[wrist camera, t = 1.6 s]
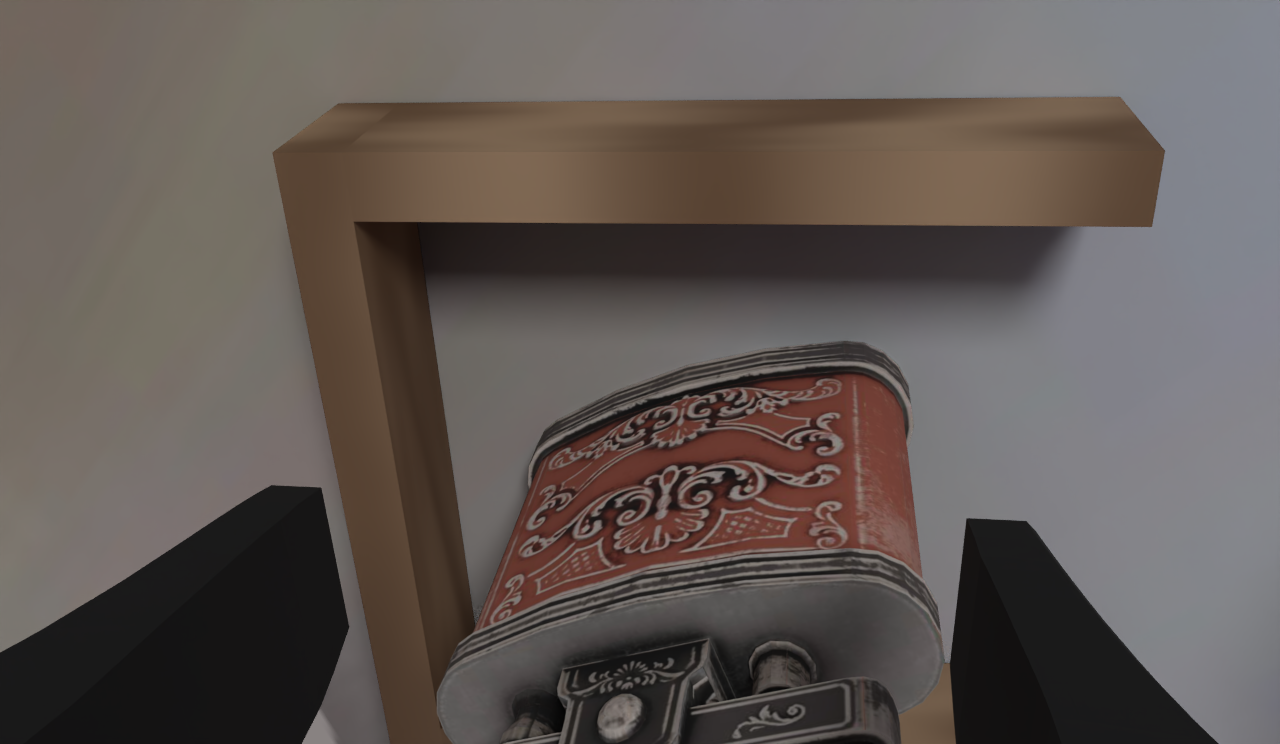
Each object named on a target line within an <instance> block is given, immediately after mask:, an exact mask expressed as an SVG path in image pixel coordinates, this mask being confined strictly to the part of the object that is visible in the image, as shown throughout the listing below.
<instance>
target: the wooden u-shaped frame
mask: <svg viewBox="0 0 1280 744" xmlns="http://www.w3.org/2000/svg"><path fill="white" fill-rule="evenodd" d="M1164 153H1165V150H1164V149H1163V148H1162V147H1161V145H1160V144H1159V143H1158V142H1157V141H1156V139H1155V138H1154V137H1153V136H1152V135H1151V133H1150V132H1149V131H1148V130H1147V129H1146V127H1145V126H1144V125H1143V124H1142V123H1141V121H1140V120H1139V119H1138V118H1137V117H1136V115H1135V114H1134V113H1133V112H1132V111H1131V110H1130V108H1129V107H1128V106H1127V105H1126V104H1125V102H1124V101H1123V100H1122V99H1121V98H1120V97H1052V98H934V99H816V100H698V101H580V102H462V103H344V104H337V105H336V106H334V107H333V108H332V109H330V110H329V111H328V112H326V113H325V114H324V115H322V116H321V117H320V118H318V119H317V120H316V121H314V122H313V123H312V124H310V125H309V126H308V127H306V128H305V129H304V130H302V131H301V132H300V133H298V134H297V135H296V136H294V137H293V138H292V139H290V140H289V141H287V142H286V143H285V144H283V145H282V146H281V147H279V148H278V149H277V150H275V151H274V152H273V158H274V163H275V168H276V173H277V178H278V183H279V188H280V193H281V198H282V203H283V208H284V213H285V218H286V223H287V228H288V233H289V238H290V243H291V248H292V253H293V258H294V263H295V268H296V273H297V278H298V283H299V288H300V293H301V298H302V303H303V308H304V313H305V318H306V323H307V328H308V333H309V338H310V343H311V348H312V353H313V358H314V363H315V368H316V373H317V378H318V383H319V388H320V393H321V398H322V403H323V408H324V413H325V418H326V423H327V428H328V433H329V438H330V443H331V448H332V453H333V458H334V463H335V468H336V473H337V478H338V483H339V488H340V493H341V498H342V503H343V508H344V513H345V518H346V523H347V528H348V533H349V538H350V543H351V548H352V553H353V558H354V563H355V568H356V573H357V578H358V583H359V588H360V593H361V598H362V603H363V608H364V613H365V618H366V623H367V628H368V633H369V638H370V643H371V648H372V653H373V658H374V663H375V668H376V673H377V678H378V683H379V688H380V693H381V698H382V703H383V708H384V713H385V718H386V723H387V728H388V733H389V738H390V743H391V744H453V743H452V742H451V740H450V739H449V738H448V737H447V736H446V734H445V732H444V730H443V727H442V725H441V722H440V720H439V717H438V715H437V691H438V689H439V686H440V684H441V681H442V679H443V676H444V674H445V671H446V669H447V667H448V664H449V662H450V659H451V657H452V655H453V653H454V651H455V649H456V647H457V645H458V643H460V642H461V641H463V640H464V639H465V638H467V637H468V636H469V635H471V634H472V633H473V632H474V629H475V622H474V616H473V609H472V602H471V595H470V588H469V581H468V574H467V567H466V560H465V553H464V546H463V539H462V532H461V525H460V518H459V511H458V504H457V497H456V491H455V484H454V477H453V470H452V463H451V456H450V449H449V442H448V435H447V428H446V421H445V414H444V407H443V400H442V393H441V386H440V379H439V372H438V365H437V359H436V352H435V345H434V338H433V331H432V324H431V317H430V310H429V303H428V296H427V289H426V282H425V275H424V268H423V261H422V254H421V247H420V240H419V233H418V227H417V222H500V223H650V224H801V225H951V226H1102V227H1152V223H1153V217H1154V212H1155V206H1156V200H1157V194H1158V188H1159V182H1160V177H1161V171H1162V165H1163V159H1164ZM899 720H900V732H901V744H956V739H955V727H954V716H953V703H952V689H951V676H950V663H944V665H943V669H942V672H941V676H940V679H939V683H938V685H937V686H936V687H935V688H934V690H933V691H932V692H931V693H930V694H929V696H928V697H927V698H926V699H925V700H924V702H923V703H921V704H919V705H917V706H915V707H914V708H912V709H910V710H908V711H906V712H905V713H903V714H900V715H899Z"/></svg>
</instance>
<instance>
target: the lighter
mask: <svg viewBox="0 0 1280 744" xmlns="http://www.w3.org/2000/svg"><path fill="white" fill-rule="evenodd" d="M913 427H914V425H913V417H912V410H911V402H910V395H909V387H908V383H907V381H906V379H905V377H904V375H903V373H902V372H901V370H900V368H899V366H898V365H897V364H896V363H895V362H894V361H893V360H892V359H891V358H890V357H889V356H888V355H886V354H885V353H884V352H883V351H881V350H879V349H877V348H875V347H872V346H870V345H868V344H866V343H863V342H851V341H837V342H828V343H818V344H808V345H798V346H788V347H778V348H768V349H762V350H757V351H753V352H748V353H743V354H738V355H734V356H729V357H724V358H719V359H715V360H710V361H705V362H701V363H696V364H691V365H687V366H684V367H681V368H679V369H676V370H673V371H670V372H667V373H665V374H662V375H659V376H656V377H653V378H650V379H648V380H645V381H642V382H639V383H636V384H633V385H631V386H628V387H625V388H622V389H619V390H617V391H615V392H613V393H611V394H609V395H607V396H605V397H603V398H601V399H599V400H597V401H595V402H592V403H590V404H588V405H586V406H584V407H582V408H580V409H578V410H576V411H574V412H572V413H570V414H568V415H566V416H564V417H562V418H560V419H558V420H557V421H555V422H554V423H553V424H552V425H550V426H549V427H548V428H547V429H545V431H544V433H543V435H542V437H541V439H540V441H539V443H538V445H537V448H536V450H535V453H534V455H533V457H532V460H531V462H530V465H529V473H528V486H529V492H528V494H527V497H526V499H525V502H524V504H523V507H522V510H521V512H520V515H519V517H518V520H517V522H516V525H515V527H514V530H513V532H512V535H511V538H510V540H509V543H508V545H507V548H506V550H505V553H504V555H503V558H502V560H501V563H500V565H499V568H498V571H497V573H496V576H495V578H494V581H493V583H492V586H491V588H490V591H489V593H488V596H487V599H486V601H485V604H484V606H483V609H482V611H481V614H480V616H479V619H478V621H477V624H476V627H475V629H474V632H473V633H472V634H471V635H469V636H468V637H467V638H465V639H464V640H463V641H461V642H460V643H458V645H457V647H456V649H455V651H454V653H453V655H452V657H451V659H450V662H449V664H448V667H447V669H446V671H445V674H444V676H443V679H442V681H441V684H440V686H439V689H438V691H437V715H438V717H439V720H440V722H441V725H442V727H443V730H444V732H445V734H446V736H447V737H448V738H449V739H450V740H451V742H452V743H453V744H901V732H900V720H899V715H900V714H903V713H905V712H906V711H908V710H910V709H912V708H914V707H915V706H917V705H919V704H921V703H923V702H924V700H925V699H926V698H927V697H928V696H929V694H930V693H931V692H932V691H933V690H934V688H935V687H936V686H937V685H938V683H939V679H940V676H941V672H942V669H943V665H944V662H945V659H944V652H943V644H942V637H941V629H940V622H939V615H938V607H937V602H936V600H935V599H934V597H933V595H932V593H931V592H930V590H929V588H928V586H927V584H926V583H925V581H924V580H923V578H922V570H921V561H920V553H919V544H918V536H917V527H916V519H915V511H914V502H913V494H912V485H911V477H910V468H909V460H908V452H907V448H908V446H909V444H910V439H911V435H912V431H913Z"/></svg>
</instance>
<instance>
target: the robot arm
mask: <svg viewBox="0 0 1280 744" xmlns="http://www.w3.org/2000/svg"><path fill="white" fill-rule="evenodd" d="M348 629H349V624H348V619H347V614H346V609H345V604H344V599H343V594H342V589H341V584H340V579H339V574H338V569H337V564H336V559H335V554H334V549H333V544H332V539H331V534H330V529H329V524H328V519H327V514H326V509H325V504H324V499H323V494H322V489H321V488H317V487H296V486H275V485H271V486H269V487H268V488H266V489H264V490H262V491H260V492H259V493H257V494H255V495H253V496H252V497H250V498H248V499H247V500H245V501H244V502H242V503H240V504H239V505H237V506H236V507H234V508H233V509H231V510H230V511H228V512H226V513H225V514H223V515H222V516H220V517H219V518H217V519H216V520H214V521H213V522H211V523H210V524H208V525H207V526H205V527H204V528H202V529H201V530H199V531H198V532H196V533H195V534H193V535H192V536H190V537H189V538H187V539H186V540H184V541H183V542H181V543H180V544H178V545H177V546H175V547H174V548H172V549H171V550H169V551H167V552H166V553H164V554H163V555H161V556H160V557H158V558H157V559H155V560H154V561H152V562H151V563H149V564H148V565H146V566H145V567H143V568H142V569H140V570H139V571H137V572H135V573H134V574H132V575H131V576H129V577H128V578H126V579H125V580H123V581H122V582H120V583H118V584H117V585H115V586H113V587H112V588H110V589H108V590H107V591H105V592H103V593H102V594H100V595H99V596H97V597H95V598H94V599H92V600H90V601H89V602H87V603H85V604H84V605H82V606H80V607H79V608H77V609H75V610H74V611H72V612H70V613H69V614H67V615H65V616H64V617H62V618H60V619H59V620H57V621H56V622H54V623H52V624H51V625H49V626H47V627H46V628H44V629H42V630H41V631H39V632H37V633H35V634H33V635H32V636H30V637H28V638H26V639H24V640H23V641H21V642H19V643H17V644H15V645H13V646H12V647H10V648H8V649H6V650H4V651H2V652H0V744H302V742H303V740H304V738H305V736H306V734H307V732H308V730H309V728H310V726H311V724H312V723H313V721H314V718H315V716H316V715H317V712H318V711H319V709H320V707H321V705H322V702H323V699H324V697H325V694H326V691H327V689H328V686H329V683H330V681H331V678H332V676H333V673H334V670H335V667H336V664H337V662H338V659H339V656H340V653H341V650H342V647H343V644H344V641H345V638H346V635H347V632H348ZM950 676H951V689H952V703H953V716H954V727H955V739H956V744H1218V743H1217V742H1216V741H1215V740H1214V739H1213V738H1212V737H1211V736H1210V735H1209V734H1208V733H1207V732H1206V731H1205V730H1204V729H1203V728H1202V727H1201V726H1200V725H1199V724H1198V723H1196V722H1195V721H1194V720H1193V719H1192V718H1191V717H1190V715H1189V714H1188V713H1187V712H1186V711H1185V710H1184V709H1183V708H1182V707H1181V706H1180V705H1179V704H1178V703H1177V702H1176V701H1175V700H1174V699H1173V698H1172V697H1171V696H1170V695H1169V694H1168V693H1167V692H1166V691H1165V689H1164V688H1163V687H1162V686H1161V685H1160V684H1159V683H1158V682H1157V681H1156V680H1155V679H1154V678H1153V676H1152V675H1151V674H1150V673H1149V672H1148V671H1147V670H1146V669H1145V668H1144V667H1143V665H1142V664H1141V663H1140V662H1139V661H1138V660H1137V659H1136V658H1135V656H1134V655H1133V654H1132V653H1131V652H1130V650H1129V649H1128V648H1127V647H1126V646H1125V645H1124V643H1123V642H1122V641H1121V640H1120V639H1119V638H1118V636H1117V635H1116V634H1115V633H1114V632H1113V631H1112V629H1111V628H1110V627H1109V626H1108V625H1107V624H1106V622H1105V621H1104V620H1103V619H1102V618H1101V616H1100V615H1099V614H1098V613H1097V611H1096V610H1095V609H1094V608H1093V606H1092V605H1091V604H1090V603H1089V601H1088V600H1087V599H1086V598H1085V596H1084V595H1083V594H1082V592H1081V591H1080V590H1079V589H1078V587H1077V586H1076V585H1075V583H1074V582H1073V581H1072V580H1071V578H1070V577H1069V576H1068V574H1067V573H1066V572H1065V570H1064V569H1063V568H1062V566H1061V565H1060V564H1059V562H1058V561H1057V560H1056V558H1055V557H1054V556H1053V554H1052V553H1051V552H1050V550H1049V549H1048V547H1047V546H1046V545H1045V543H1044V542H1043V541H1042V539H1041V538H1040V536H1039V535H1038V534H1037V532H1036V531H1035V530H1034V529H1033V528H1032V527H1031V526H1030V525H1029V524H1028V522H1027V521H1012V520H991V519H970V518H967V520H966V529H965V538H964V546H963V555H962V564H961V573H960V581H959V590H958V599H957V607H956V616H955V625H954V634H953V642H952V651H951V660H950Z"/></svg>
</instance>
